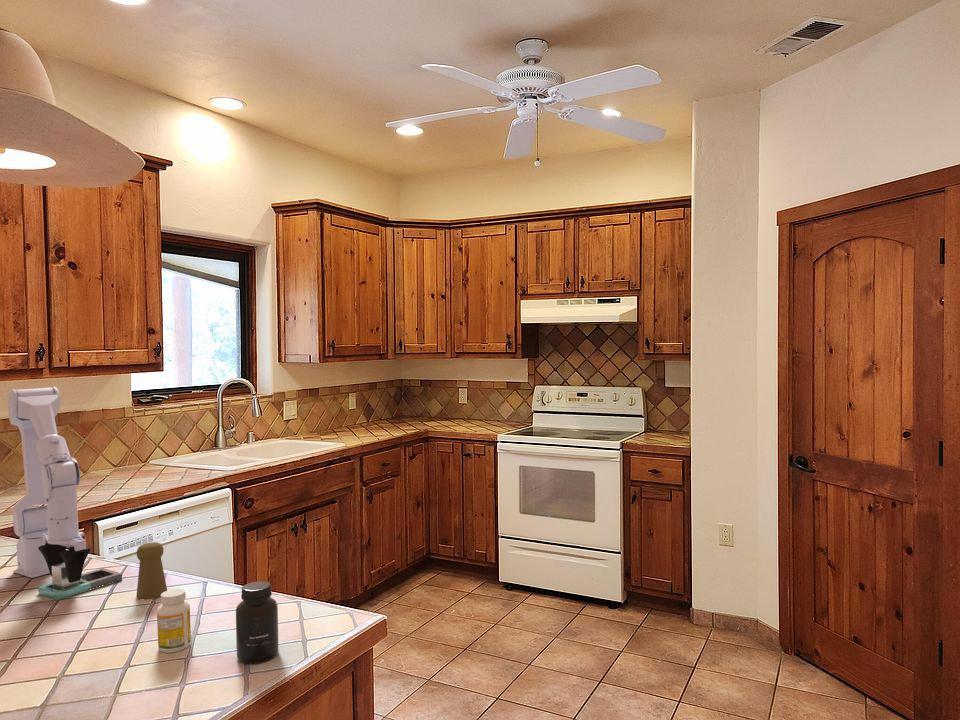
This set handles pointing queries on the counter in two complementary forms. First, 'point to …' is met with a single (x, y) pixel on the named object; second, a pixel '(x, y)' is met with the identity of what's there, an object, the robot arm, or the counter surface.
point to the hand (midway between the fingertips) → (65, 578)
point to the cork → (150, 571)
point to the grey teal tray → (82, 584)
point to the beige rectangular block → (61, 578)
